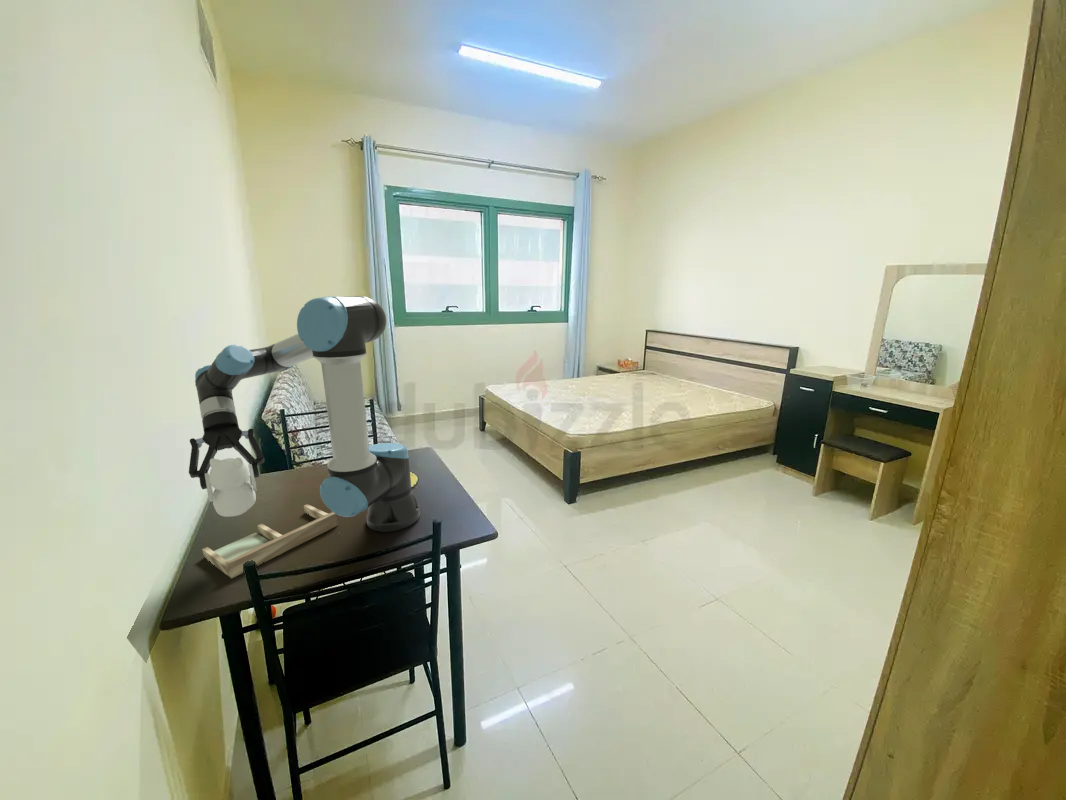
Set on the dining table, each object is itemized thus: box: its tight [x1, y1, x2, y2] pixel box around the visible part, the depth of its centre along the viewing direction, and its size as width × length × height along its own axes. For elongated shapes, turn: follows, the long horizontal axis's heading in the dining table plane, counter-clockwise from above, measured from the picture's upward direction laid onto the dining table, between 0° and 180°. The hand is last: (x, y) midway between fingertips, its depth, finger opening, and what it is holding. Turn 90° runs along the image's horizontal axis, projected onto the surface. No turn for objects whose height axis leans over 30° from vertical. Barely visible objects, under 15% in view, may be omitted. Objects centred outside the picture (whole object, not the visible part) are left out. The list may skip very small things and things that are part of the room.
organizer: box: [201, 503, 339, 579], centre depth 116 cm, size 16×28×4 cm, turn 147°
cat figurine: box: [209, 457, 257, 518], centre depth 107 cm, size 9×12×15 cm
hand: (233, 493), depth 105 cm, fingers closed on cat figurine, 8 cm apart
